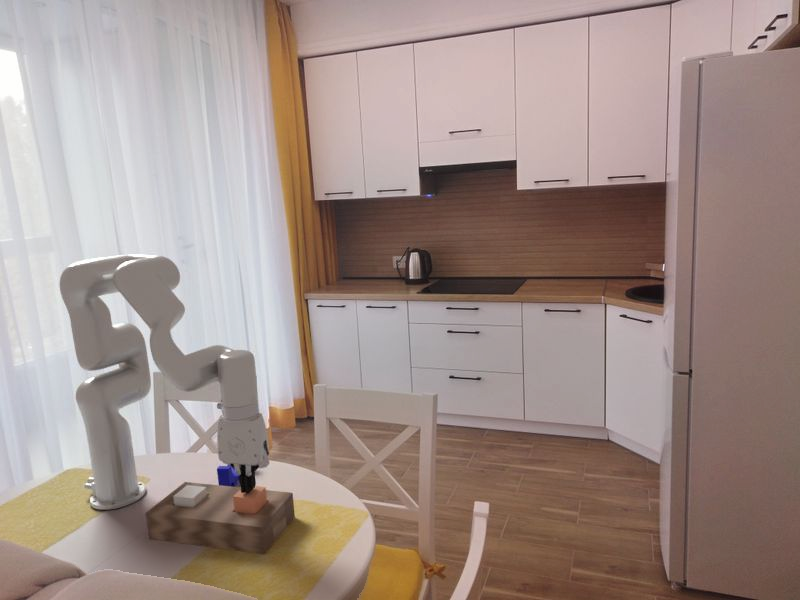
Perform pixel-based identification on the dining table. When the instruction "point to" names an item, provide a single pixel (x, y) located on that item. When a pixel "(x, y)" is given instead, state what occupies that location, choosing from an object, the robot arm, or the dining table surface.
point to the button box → (221, 520)
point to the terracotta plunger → (250, 501)
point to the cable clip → (227, 476)
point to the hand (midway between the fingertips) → (248, 489)
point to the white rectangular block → (190, 496)
